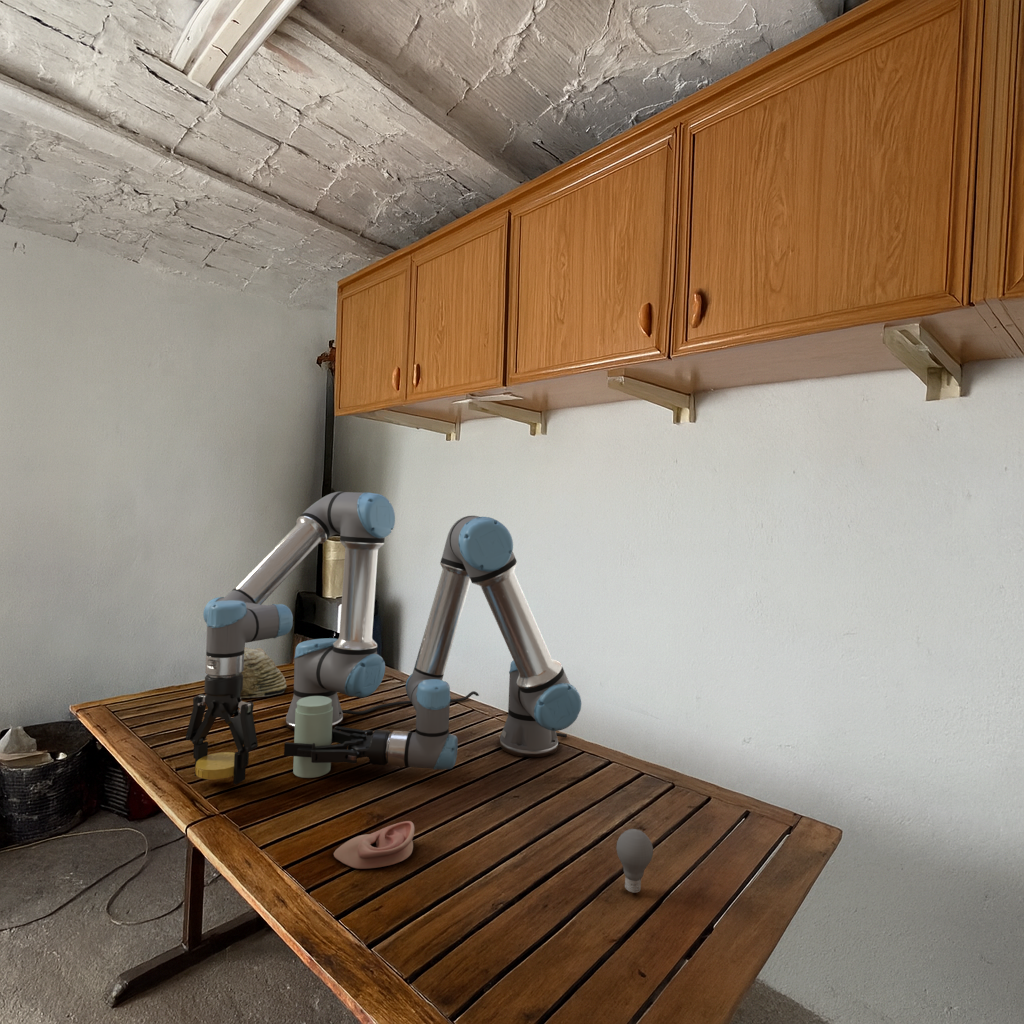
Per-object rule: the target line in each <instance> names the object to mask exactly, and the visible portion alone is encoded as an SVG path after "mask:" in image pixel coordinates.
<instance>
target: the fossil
mask: <svg viewBox="0 0 1024 1024" xmlns="http://www.w3.org/2000/svg"><path fill="white" fill-rule="evenodd" d="M241 673H242V674H243V689H242V691H241V694H240V697H241V699H250V698H264V697H271V696H275V695H281V694H284V693H285V691H286V689H287V687H288V686H287V680H286V678H285V676H284V674H283V673H282V672H281V669H279V668H278V667H277V665H276V663H275V662H274V660H273V659H272V658H271V657H270V656H269V655H268V654H267V653H266V652H265V650H264V649H263V648H260V647H258V648H251V647H247V646H245V649H244V670H243V672H241Z"/></svg>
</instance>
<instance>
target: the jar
mask: <svg viewBox="0 0 1024 1024" xmlns="http://www.w3.org/2000/svg"><path fill="white" fill-rule="evenodd" d="M332 718H333V707H332V700H331V699H330V698H328V697H325V696H309V697H305V698H301V699H299V700H298V701H297V708H296V710H295V730H294V737H293V739H294V740H293V743H304V744H313V743H315V746H324V745H332V744H333V742H332ZM292 766H293V767H292V770H293V771H292V773H293V774H294V775H295V776H296V777H298V778H304V779H313V778H314V779H315V778H319V777H322V776H325V775H327V774H328V773H330V772H331V767H332V763H312V762H311V757H298V756H293V765H292Z"/></svg>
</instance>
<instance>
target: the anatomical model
mask: <svg viewBox="0 0 1024 1024" xmlns="http://www.w3.org/2000/svg"><path fill="white" fill-rule="evenodd" d="M414 836H415V824H414V823H413V822H412V821H411V820H405V821H400V822H397V823H393V824H391V825H388V826H386V827H383V828H381V829H379V830H376V831H373V832H371V833H368V834H367V833H366V834H361V835H357V836H355V837H353V838H351V839H349V840H347V841H345V842H344V843H342V844H341V845H340V846H338V847H337V848H336V849H335V851H334V852H333V857H334V858H335V859H336V860H337V861H339V862H341V863H342V864H344V865H346V866H348V867H350V868H353V869H357V870H367V869H376V868H377V869H378V868H382V867H387V866H388V867H389V866H393V865H395V864H398V863H400V862H403V861H405V860H407V859H408V858H409V857H410V856H411V855H412V853H413V850H414V841H413V839H414Z"/></svg>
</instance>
